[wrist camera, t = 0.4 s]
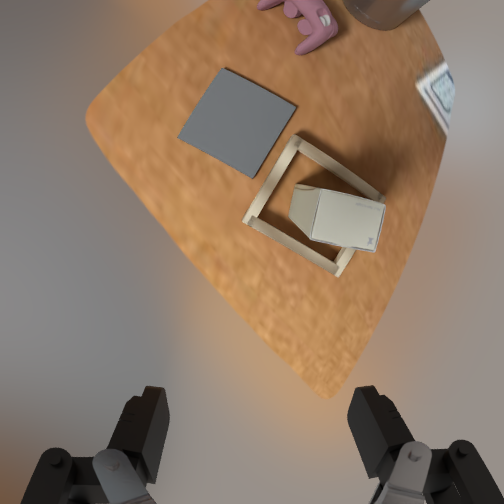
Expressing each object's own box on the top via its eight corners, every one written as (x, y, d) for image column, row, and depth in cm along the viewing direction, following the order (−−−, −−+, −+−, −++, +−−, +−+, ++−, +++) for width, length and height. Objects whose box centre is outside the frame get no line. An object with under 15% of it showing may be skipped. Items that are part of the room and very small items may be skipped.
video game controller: (318, 54, 31) (351, 27, 25) (295, 59, 30) (330, 29, 23) (275, 3, 29) (302, -27, 23) (251, 6, 27) (277, -28, 21)
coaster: (222, 69, 30) (221, 67, 29) (295, 108, 32) (296, 107, 31) (178, 138, 32) (177, 137, 31) (252, 178, 33) (252, 178, 33)
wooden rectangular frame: (291, 136, 32) (294, 133, 30) (379, 196, 35) (386, 197, 33) (241, 219, 35) (241, 221, 33) (333, 272, 37) (338, 277, 35)
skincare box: (342, 194, 34) (389, 203, 23) (334, 229, 35) (377, 254, 24) (292, 182, 34) (321, 185, 22) (285, 219, 35) (309, 240, 23)
